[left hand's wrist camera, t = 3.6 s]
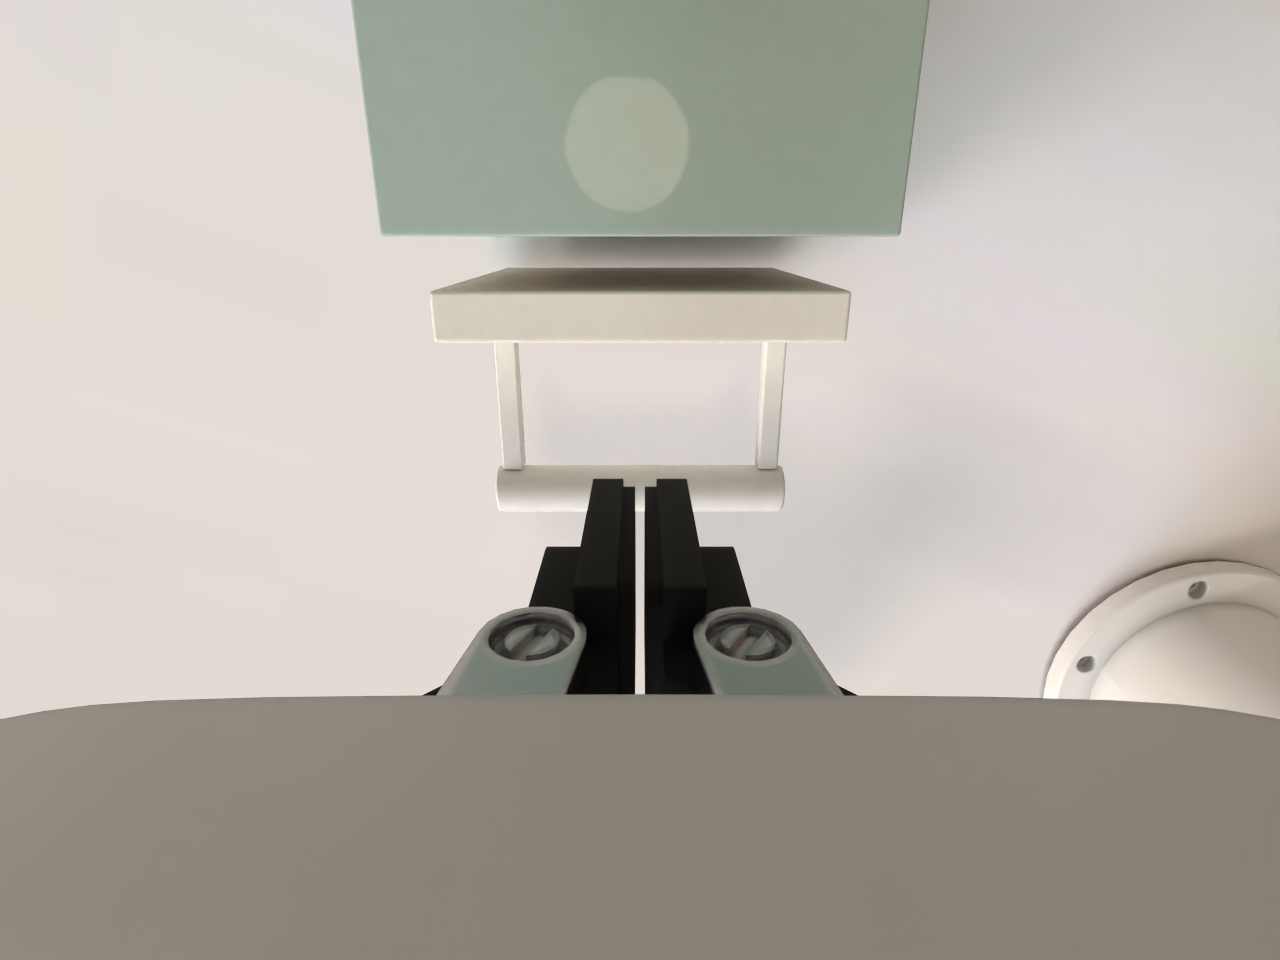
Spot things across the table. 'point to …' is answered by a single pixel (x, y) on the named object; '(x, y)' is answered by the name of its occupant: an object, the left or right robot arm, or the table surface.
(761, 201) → the mint green storage box
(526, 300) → the drawer
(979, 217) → the table surface
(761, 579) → the table surface
